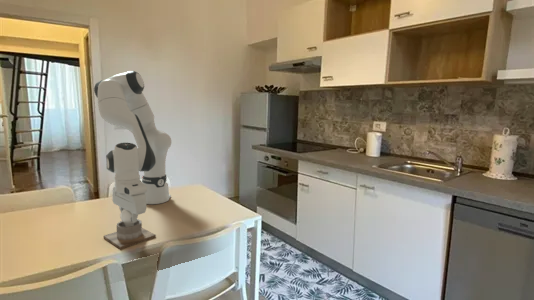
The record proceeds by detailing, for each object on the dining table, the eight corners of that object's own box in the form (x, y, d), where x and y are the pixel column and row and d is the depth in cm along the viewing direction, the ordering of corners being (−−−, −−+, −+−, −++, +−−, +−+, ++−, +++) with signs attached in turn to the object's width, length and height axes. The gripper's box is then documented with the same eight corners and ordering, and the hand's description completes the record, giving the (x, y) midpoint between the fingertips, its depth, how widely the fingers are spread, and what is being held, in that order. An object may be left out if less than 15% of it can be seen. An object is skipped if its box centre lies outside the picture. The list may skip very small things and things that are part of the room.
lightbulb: (121, 238, 115) (120, 211, 113) (120, 232, 120) (119, 206, 119) (139, 235, 118) (138, 209, 116) (137, 229, 123) (136, 203, 122)
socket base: (103, 238, 118) (102, 223, 117) (137, 227, 129) (137, 214, 128) (120, 249, 109) (119, 233, 108) (155, 237, 120) (155, 222, 119)
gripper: (107, 181, 120) (108, 214, 122) (132, 192, 107) (134, 228, 109) (123, 179, 125) (124, 210, 127) (149, 188, 112) (150, 223, 114)
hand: (129, 219), depth 118 cm, fingers closed on lightbulb, 6 cm apart
